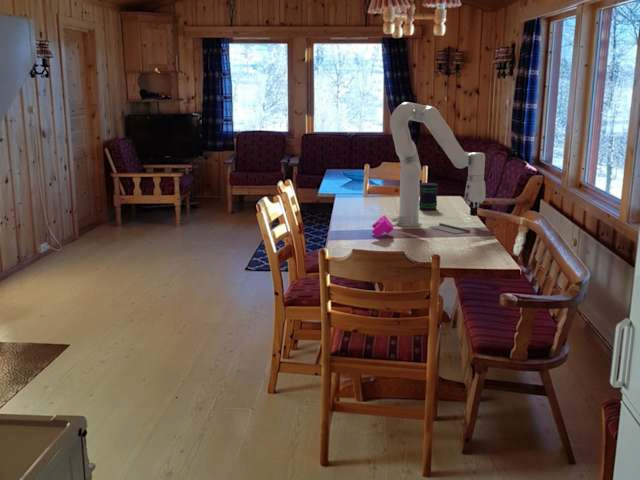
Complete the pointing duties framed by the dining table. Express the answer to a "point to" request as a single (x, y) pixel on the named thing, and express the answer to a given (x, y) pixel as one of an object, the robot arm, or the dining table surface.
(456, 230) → the felt mat
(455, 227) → the stop rail
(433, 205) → the storage jar
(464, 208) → the dining table surface
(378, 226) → the toy block
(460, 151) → the robot arm
